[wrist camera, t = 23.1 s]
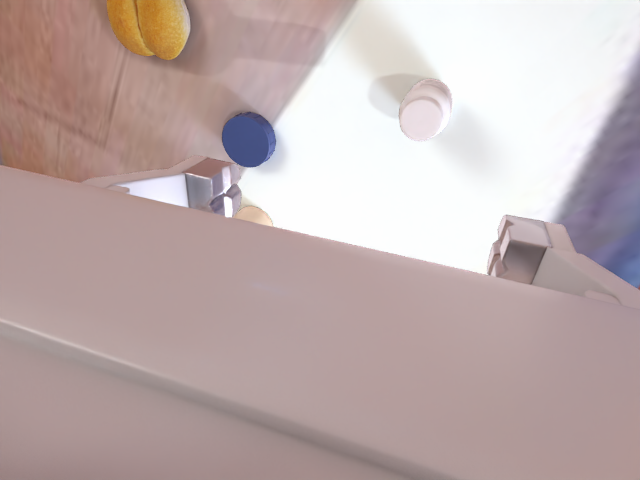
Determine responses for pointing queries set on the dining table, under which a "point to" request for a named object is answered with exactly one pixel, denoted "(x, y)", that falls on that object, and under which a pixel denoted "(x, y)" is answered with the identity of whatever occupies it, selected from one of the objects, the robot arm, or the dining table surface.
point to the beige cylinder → (253, 215)
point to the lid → (248, 139)
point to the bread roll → (150, 26)
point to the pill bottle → (425, 110)
